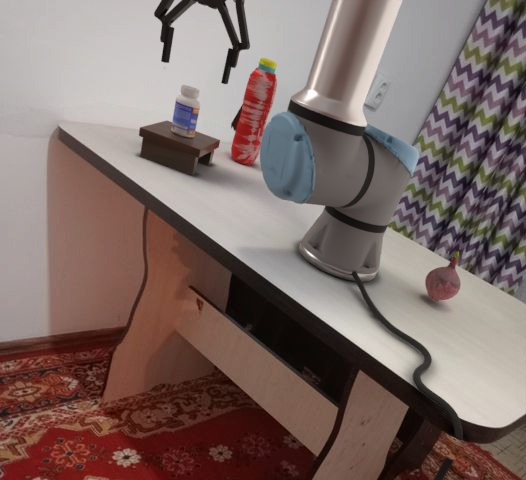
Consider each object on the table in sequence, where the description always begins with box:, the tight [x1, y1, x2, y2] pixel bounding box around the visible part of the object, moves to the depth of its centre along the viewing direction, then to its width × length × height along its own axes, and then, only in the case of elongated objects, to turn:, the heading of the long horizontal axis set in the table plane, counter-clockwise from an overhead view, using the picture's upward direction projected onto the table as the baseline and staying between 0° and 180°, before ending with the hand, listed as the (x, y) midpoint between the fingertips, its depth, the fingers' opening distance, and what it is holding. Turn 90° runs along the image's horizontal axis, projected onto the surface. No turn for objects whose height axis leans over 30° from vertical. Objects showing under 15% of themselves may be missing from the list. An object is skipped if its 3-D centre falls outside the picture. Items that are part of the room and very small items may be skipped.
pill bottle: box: [171, 84, 201, 138], centre depth 103 cm, size 5×5×10 cm
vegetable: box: [424, 251, 462, 302], centre depth 82 cm, size 6×6×10 cm
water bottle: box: [230, 57, 278, 166], centre depth 121 cm, size 12×8×25 cm, turn 39°
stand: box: [138, 120, 221, 176], centre depth 108 cm, size 16×14×6 cm
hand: (194, 73), depth 99 cm, fingers open, 13 cm apart
